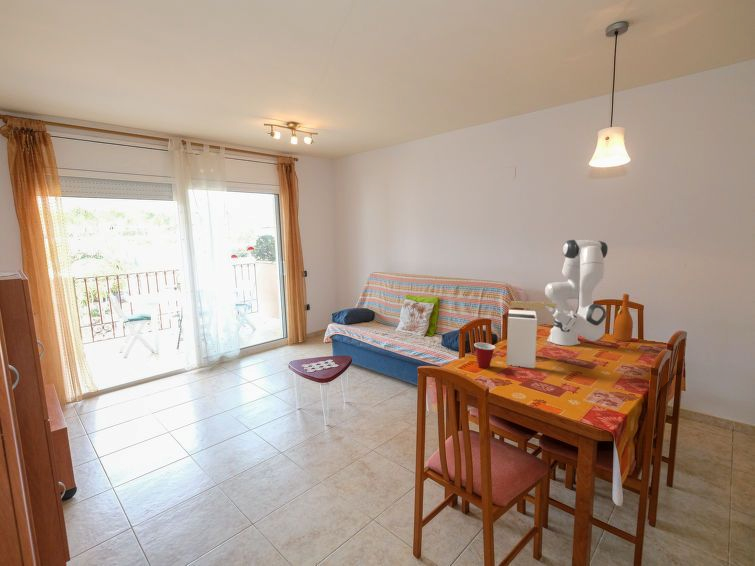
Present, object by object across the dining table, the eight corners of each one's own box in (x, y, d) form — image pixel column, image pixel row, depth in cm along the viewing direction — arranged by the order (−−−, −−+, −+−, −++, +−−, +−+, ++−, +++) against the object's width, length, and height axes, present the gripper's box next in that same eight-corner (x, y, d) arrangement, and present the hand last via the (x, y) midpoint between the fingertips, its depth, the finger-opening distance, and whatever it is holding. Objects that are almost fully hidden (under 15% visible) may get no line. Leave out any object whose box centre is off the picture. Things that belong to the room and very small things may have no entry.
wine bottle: (617, 336, 238) (621, 292, 234) (634, 340, 230) (638, 294, 225) (610, 339, 233) (613, 293, 228) (627, 342, 224) (631, 296, 220)
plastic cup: (498, 370, 185) (498, 347, 183) (477, 371, 184) (478, 348, 182) (490, 362, 195) (491, 341, 194) (470, 363, 195) (471, 342, 193)
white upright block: (507, 352, 211) (508, 309, 207) (533, 355, 206) (535, 310, 202) (506, 365, 191) (508, 317, 187) (534, 368, 186) (537, 319, 182)
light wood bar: (510, 306, 193) (510, 300, 193) (555, 308, 186) (556, 302, 185) (510, 307, 191) (510, 301, 190) (556, 309, 183) (556, 304, 182)
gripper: (571, 310, 191) (547, 296, 194) (577, 319, 172) (550, 303, 175) (563, 319, 193) (540, 306, 196) (569, 329, 174) (542, 314, 177)
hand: (545, 305), depth 186 cm, fingers closed on light wood bar, 3 cm apart
